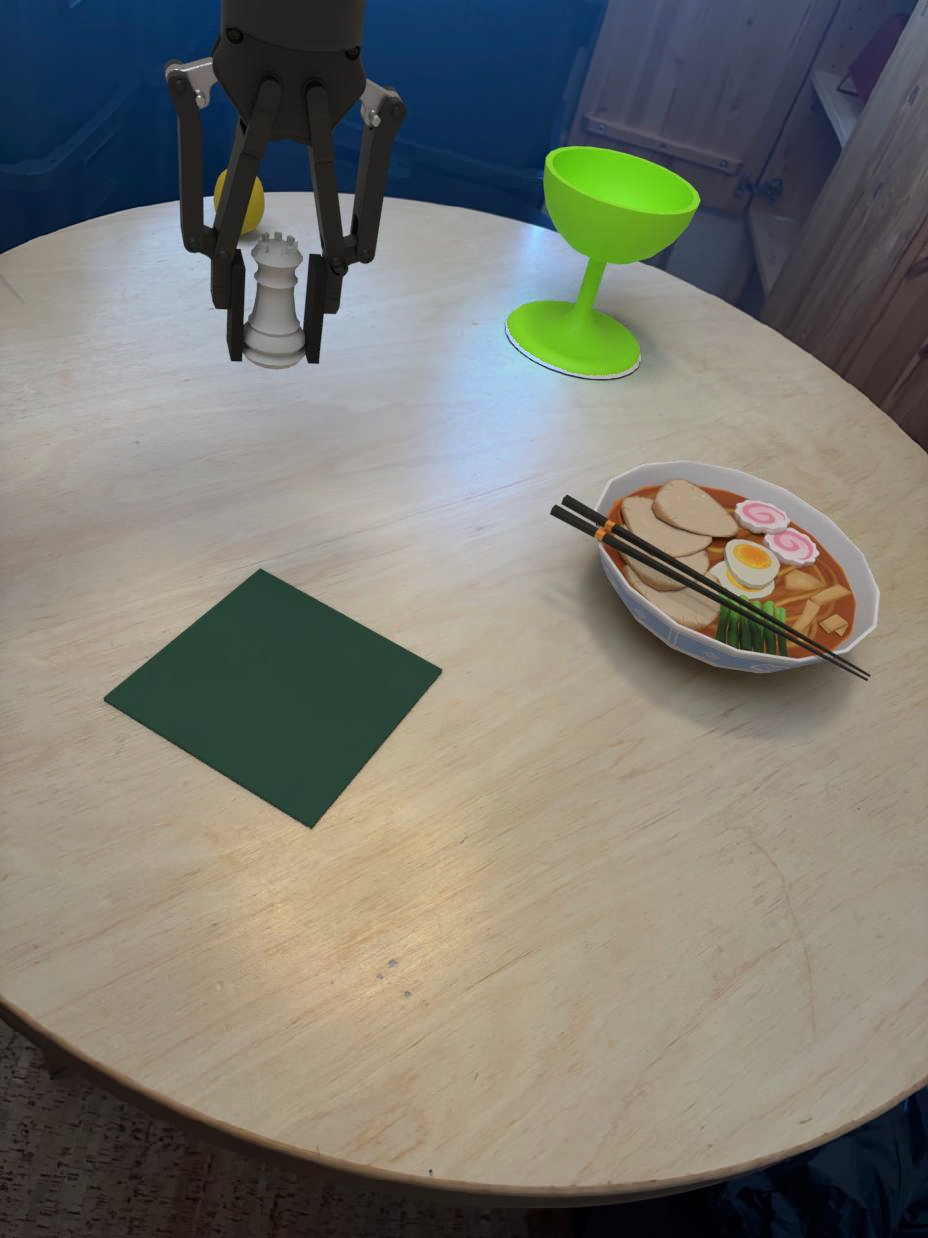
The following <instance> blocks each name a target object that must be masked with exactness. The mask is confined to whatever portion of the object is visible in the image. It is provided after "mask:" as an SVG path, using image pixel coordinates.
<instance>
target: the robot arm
mask: <svg viewBox="0 0 928 1238" xmlns="http://www.w3.org/2000/svg"><path fill="white" fill-rule="evenodd" d="M366 7H367V0H220V29H219V33H218V36H217V38H216V41H215V42H214V43H213V46H212V47H211V51H210V56H209V57H204V58H200V59H199V60H198V59H197V60H194V61H191V62H187V63H183V62H182V60H179V59H174V58H173V59H170V60H167V62H166V63H165V65H164V75H165V80H166V85H167V90H168V93H169V96H170V99H171V101H172V105H173V107H174V109H175V113H176V122H177V155H178V157H177V160H178V161H177V162H178V192H179V227H180V233H181V238H182V242H183V243H182V244H183V247H184V249H185V250H186V251H187V252H188V253H190V254H198V253H199V254H202V255H204V256H206V257H207V258H209V260H210V285H209V286H210V287H209V288H210V291H209V292H210V296H211V301H212V304H213V306H214V309H215V310H226V337H225V338H226V340H225V341H226V344H227V350H228V356H229V360H230V362H232V363H233V362H234V363H236V362H237V363H238V362H239V363H242V362H243V355H244V354H243V327H244V324H245V300H246V299H245V298H246V271H247V269H246V268H247V267H246V265H245V259H244V257H243V253H242V249H241V248H238V245H239V241H240V238H241V236H240V234H241V231H242V227H243V223H244V220H245V216H246V212H247V209H248V205H249V202H250V198H251V194H252V191H253V187H254V183H255V180H256V176H257V177H258V173H259V168H260V165H261V162H262V160H263V159H264V157H265V154H266V152H267V149H268V143H269V142H280V141H286V140H289V141H293V142H295V143H297V144H300V145H304V146H305V145H306V149H307V154H308V155H307V156H308V162H309V169H310V177H311V184H312V189H313V190H312V192H313V198H314V204H315V213H316V219H317V220H316V221H317V227H318V234H319V243H320V248H321V253H309V254H308V263H307V276H306V286H305V287H306V288H305V300H304V312H303V323H302V330H303V331H304V334H305V344H304V345H303V346H304V347H305V358H306V362H307V364H308V365H313V364H314V365H319V364H320V358H321V347H322V336H323V329H324V328H323V327H324V319H325V317H324V316H325V315H337V313H338V311H339V309H340V308H341V299H342V290H343V289H342V288H343V281H344V277H345V276H346V275H347V274H348V272H349V266H351V265H354V264H357V263H361V264H363V265H367V264H370V263H372V262H373V261H374V259H375V257H376V251H377V245H378V238H379V232H380V231H379V230H380V225H381V218H382V211H383V205H384V198H385V191H386V184H387V178H388V171H389V165H390V164H389V163H390V158H391V151H392V145H393V142H394V141H395V138H396V136H397V134H398V132H399V130H400V129H401V126H402V125H403V122H404V120H405V119H406V116H407V107H406V105H405V103H404V102H403V100H402V98H401V96H400V95H399V94H398V92H397V90H396V89H395V87H393V86H389V85H387V86H383V87H382V86H380V85H379V84H377V83H375V82H374V81H372V80H370V79H369V78H367V74H366V70H365V68H364V65H363V61H362V45H363V44H362V43H363V36H364V35H363V34H364V26H365V17H366V16H365V15H366ZM216 83H219V85H220V87H221V88H222V90H223V91H224V93H225V94H226V96H227V98H228V99H229V101H230V103H231V104H232V106H233V107H234V109H235V111H236V113H237V114H238V119H237V123H236V127H235V136H234V137H235V138H234V141H233V145H232V150H231V153H230V158H229V162H228V165H227V168H226V169H227V173H226V177H225V181H224V184H223V188H222V192H221V196H220V200H219V204H218V208H217V212H216V211H215V215H214V219H213V223H212V224H213V225H212V227H210V226H208V225H206V224H205V220H204V219H205V212H204V211H205V209H204V208H205V206H204V203H205V201H204V199H205V198H204V195H205V194H204V131H203V130H204V129H203V121H202V114H201V111H200V110H202V109H205V108H207V107H208V106H209V105H210V102H211V89H212V87H213V85H214V84H216ZM359 100H360V101H361V107H360V116H361V118H362V120H363V121H364V125H363V128H362V129H363V130H362V136H361V143H360V152H359V158H358V159H359V160H358V167H357V175H356V182H355V190H354V199H353V207H352V215H351V220H350V221H351V222H350V228H349V229H350V231H349V234H348V235H344V232H343V231H344V230H343V223H342V214H341V206H340V198H339V188H338V182H337V173H336V165H335V164H336V163H335V162H336V155H335V154H336V153H335V146H334V138H333V131H334V130H335V128H336V127H337V126H338V125H339V124H340V123H341V121H343V119H344V118H345V117H346V116H347V114H348V113H349V112H350V111H351V109H352V108H353V107H354V106H355V105H356V104H357V102H358V101H359Z"/></svg>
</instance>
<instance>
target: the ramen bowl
mask: <svg viewBox="0 0 928 1238" xmlns="http://www.w3.org/2000/svg"><path fill="white" fill-rule="evenodd" d="M560 504H561V505H562V506H563V507H565V508H563V507H561V506H559V505H558V504H554V505H553V506H552V507H551V509H550V512H549V515H550V516H552V517H554V518H556V519H558V520H559V521H561V522H563V523H566V525H569V526H571V527H573V528H574V529H577V530H579V531H580V532H582V533H584V534H586V535H588V536H590V537H592V538H595V539H597V545H598V550H599V557H600V562H601V565H602V567H603V570H604V573H605V575H606V577H607V579H608V581H609V582H610V584H611V585H612V587H613V589H614V590H615V591H616V593H617V594H618V596H619V597H620V599H621V601H622V602H623V603H624V605H625V606H626V607H627V609H628V611H629V612H630V613H631V615H632V616H633V618H634V619H635V620H636V622H638V623H639V624H640V625H641V626H642V627H644V628H645V629H647V630H648V631H649V632H651V634H652V635H654V636H655V637H656V638H658V639H659V640H660V641H662V642H663V643H664V644H665V645H667V646H668V647H669V648H671V649H673V650H675V651H678V652H680V653H683V654H685V655H687V656H689V657H691V658H694V659H696V660H698V661H701V662H703V663H706V664H708V665H710V666H711V667H715V668H722V669H729V670H737V671H742V672H747V673H754V674H755V673H756V674H771V673H776V672H781V671H785V670H790V669H796V668H799V667H804V666H805V667H806V666H810V665H813V664H818V663H822V662H827V661H828V662H829V663H831V664H833V665H835V666H837V667H839V668H841V669H842V670H845V671H846V672H848V673H850V674H852V675H854V676H856V677H858V678H860V679H862V680H863V681H865V682H868V681H869V678H870V677H871V674H870V673H869V672H867V671H865V670H864V669H861V668H860V667H858V666H857V665H855V664H853V663H852V662H850V661H849V660H846V659H845V658H843V657H841V656H842V655H845V654H846V653H849V652H850V651H851V650H852V649H853V648H854V647H856V646H857V645H858V644H859V643H860V642H861V641H862V640H863V639H864V638H866V637H867V636H868V635H869V634H870V633H871V632H872V631H874V630H875V629H876V628H877V625H878V615H879V607H880V600H881V599H880V597H881V590H880V588H879V586H878V583H877V581H876V578H875V576H874V574H873V572H872V569H871V567H870V565H869V562H868V560H867V558H866V555H865V553H864V552H862V550H861V549H860V548H859V547H858V546H857V545H856V544H855V543H854V542H853V541H852V539H851V538H849V537H848V535H847V534H845V532H844V531H843V530H842V529H841V528H840V527H839V526H838V525H837V524H836V523H835V522H834V521H833V520H832V519H831V518H830V517H829V516H827V515H826V514H825V513H823V512H821V511H820V510H819V509H817V508H815V507H814V506H812V505H810V503H808V502H806V501H805V500H803V499H802V498H800V497H799V496H797V495H796V494H794V493H793V492H791V491H790V490H788V489H787V488H785V487H782V486H780V485H778V484H775V483H772V482H770V481H767V480H765V479H763V478H761V477H758V476H755V475H752V474H750V473H747V472H745V471H742V470H740V469H737V468H733V467H729V466H722V465H717V464H712V463H705V462H700V461H694V460H691V459H690V460H689V459H680V460H679V459H677V460H669V461H658V462H657V461H655V462H645V463H641V464H639V465H637V466H634V467H632V468H630V469H629V470H625V472H622V473H621V474H618V475H616V476H614V477H612V478H610V479H609V480H608V481H607V483H606V485H605V487H604V489H603V490H602V493H601V494H600V496H599V498H598V500H597V502H596V503H595V505H594V507H593V508H591V507H590V506H588V505H586V504H584V503H582V502H581V501H579V500H578V499H576V498H574V497H572V496H571V495H569V494H565V496H563V497H562V500H561V503H560ZM566 508H567V509H569V510H571V511H573V512H574V513H576V514H578V515H579V516H578V515H576V514H574V513H573V512H571V511H568V510H567V509H566ZM580 516H581V517H583V518H584V519H583V518H581V517H580ZM586 519H587V520H589V521H591V522H592V523H594V524H595V525H594V524H592V523H590V522H589V521H586ZM835 659H836V660H835ZM838 660H839V661H838ZM842 663H843V664H842ZM844 664H845V665H844ZM846 665H847V666H846ZM848 666H849V667H850V668H849V667H848ZM851 668H852V669H851ZM853 669H854V670H853ZM855 670H856V671H857V672H856V671H855ZM858 672H859V673H858ZM862 674H863V675H862ZM865 676H867V677H868V678H867V677H865Z"/></svg>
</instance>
